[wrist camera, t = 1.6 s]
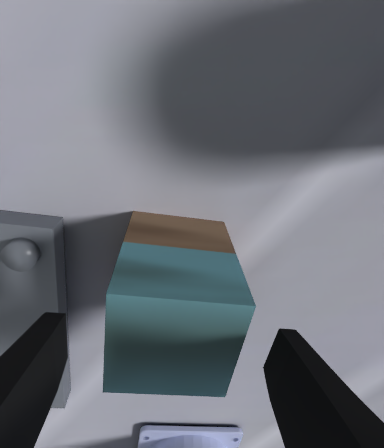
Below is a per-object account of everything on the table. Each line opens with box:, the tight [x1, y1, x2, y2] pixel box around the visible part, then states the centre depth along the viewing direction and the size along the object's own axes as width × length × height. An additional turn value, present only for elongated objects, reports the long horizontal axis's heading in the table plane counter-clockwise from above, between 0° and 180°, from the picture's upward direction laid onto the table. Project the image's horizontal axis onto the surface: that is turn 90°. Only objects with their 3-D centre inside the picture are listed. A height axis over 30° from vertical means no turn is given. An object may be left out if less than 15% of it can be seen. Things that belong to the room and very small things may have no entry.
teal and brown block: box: [103, 211, 256, 397], centre depth 12 cm, size 4×4×6 cm
